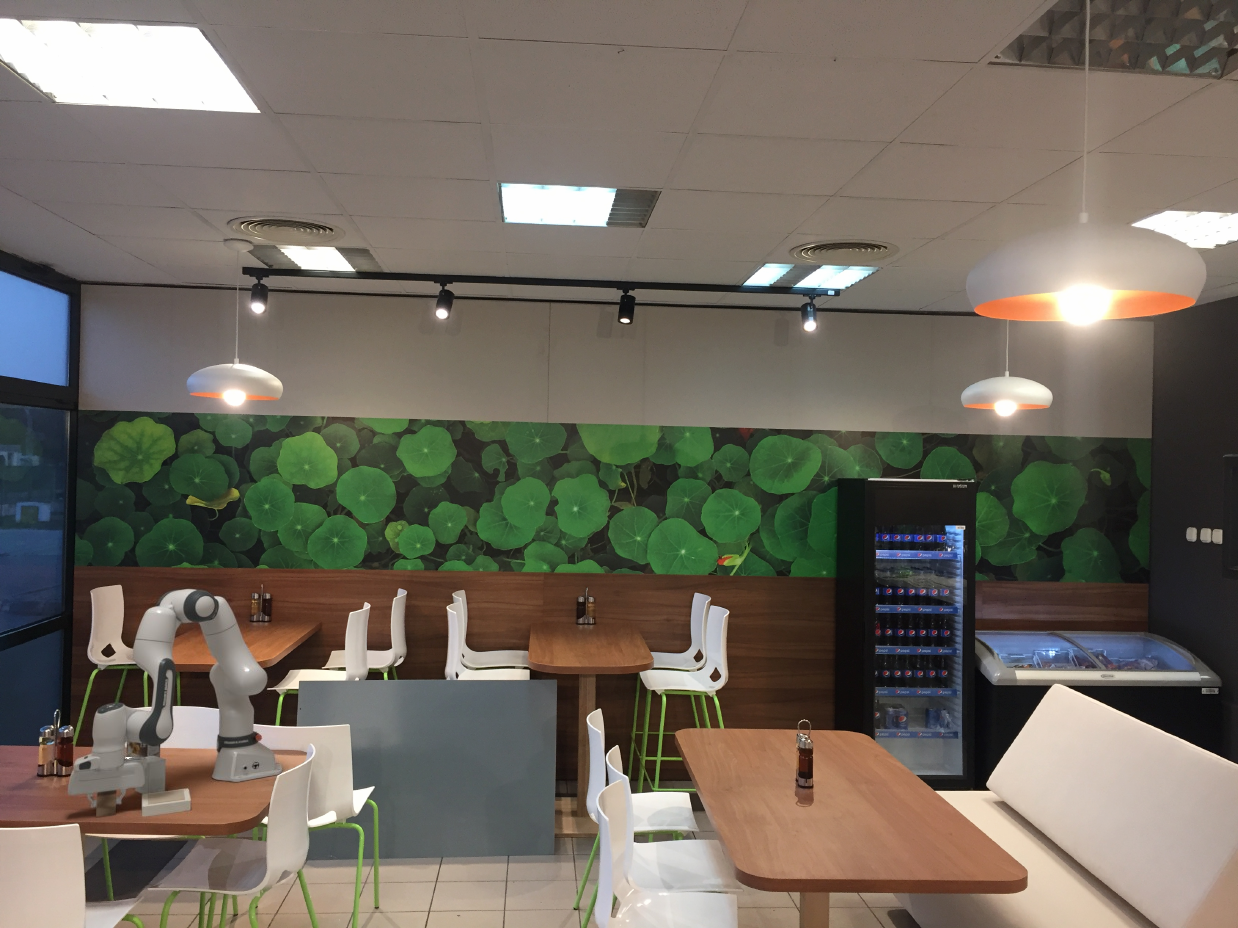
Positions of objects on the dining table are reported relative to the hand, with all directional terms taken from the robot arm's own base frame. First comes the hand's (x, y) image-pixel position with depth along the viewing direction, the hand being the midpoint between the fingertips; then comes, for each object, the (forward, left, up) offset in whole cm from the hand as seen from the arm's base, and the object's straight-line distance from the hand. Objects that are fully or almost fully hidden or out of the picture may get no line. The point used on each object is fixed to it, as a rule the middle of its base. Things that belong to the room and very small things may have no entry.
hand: (106, 805), depth 263 cm
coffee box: (-10, -38, -2) cm, 39 cm away
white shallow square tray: (-16, +2, -2) cm, 16 cm away
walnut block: (0, 0, -2) cm, 2 cm away
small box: (-12, -17, -3) cm, 21 cm away
